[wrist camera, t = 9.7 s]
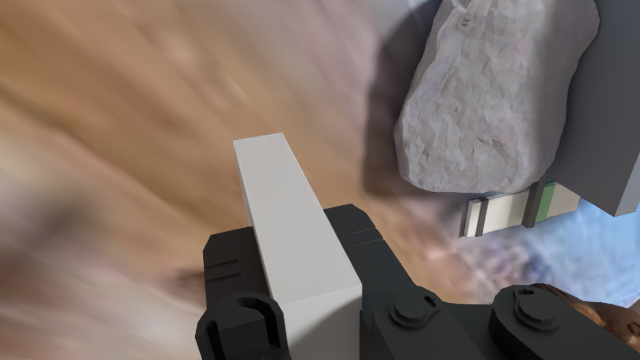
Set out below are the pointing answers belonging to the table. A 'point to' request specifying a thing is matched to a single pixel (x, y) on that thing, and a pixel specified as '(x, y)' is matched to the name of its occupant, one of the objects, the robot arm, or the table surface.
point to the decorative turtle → (605, 316)
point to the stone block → (491, 93)
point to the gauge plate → (601, 119)
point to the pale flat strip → (516, 208)
